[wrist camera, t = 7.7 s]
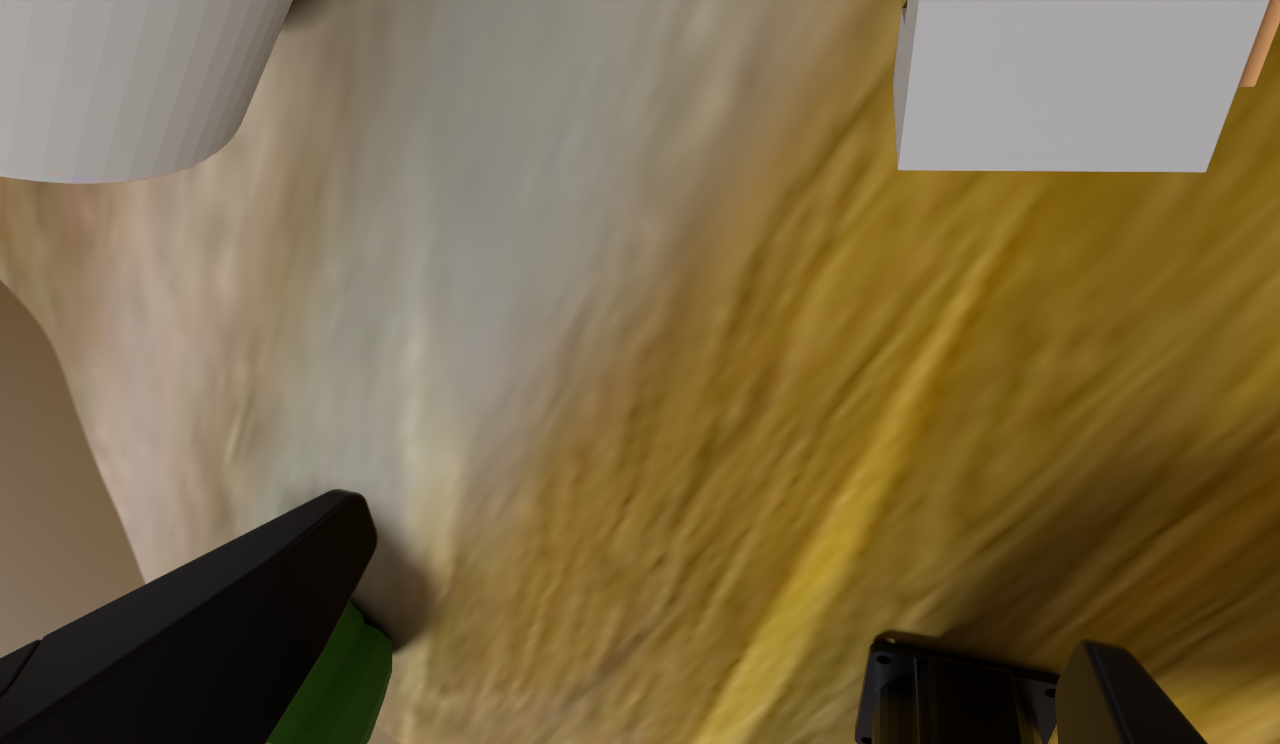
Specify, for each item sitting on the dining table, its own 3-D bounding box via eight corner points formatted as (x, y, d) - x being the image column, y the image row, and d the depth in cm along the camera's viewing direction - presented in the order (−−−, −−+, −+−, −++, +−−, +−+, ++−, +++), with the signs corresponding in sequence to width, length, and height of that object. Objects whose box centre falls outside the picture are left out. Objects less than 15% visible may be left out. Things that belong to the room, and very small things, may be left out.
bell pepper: (246, 583, 37) (75, 770, 29) (333, 553, 33) (161, 762, 25) (353, 679, 40) (224, 873, 32) (446, 663, 36) (323, 881, 28)
